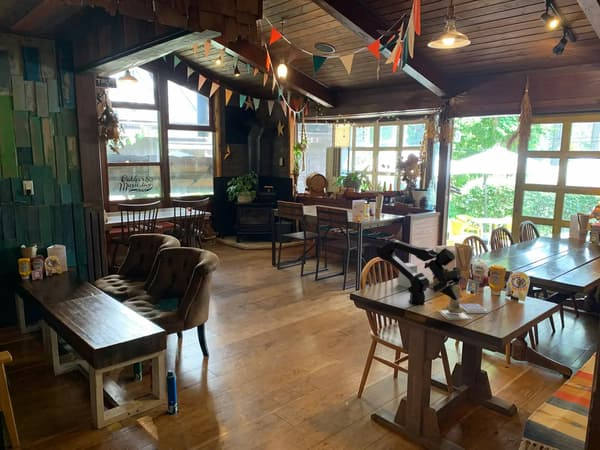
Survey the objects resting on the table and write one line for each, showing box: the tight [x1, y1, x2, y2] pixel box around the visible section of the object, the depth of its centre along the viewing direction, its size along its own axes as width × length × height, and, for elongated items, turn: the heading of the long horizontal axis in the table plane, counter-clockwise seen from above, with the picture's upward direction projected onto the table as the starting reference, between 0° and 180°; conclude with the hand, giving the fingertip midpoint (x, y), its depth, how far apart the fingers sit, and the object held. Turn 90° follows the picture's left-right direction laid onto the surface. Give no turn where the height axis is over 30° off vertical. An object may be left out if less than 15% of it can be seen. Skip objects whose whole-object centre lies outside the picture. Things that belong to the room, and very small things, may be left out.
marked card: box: [437, 309, 473, 320], centre depth 208 cm, size 12×12×1 cm
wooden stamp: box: [446, 284, 464, 313], centre depth 207 cm, size 6×6×13 cm
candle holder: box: [428, 250, 441, 290], centre depth 249 cm, size 9×9×20 cm
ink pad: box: [460, 303, 488, 314], centre depth 216 cm, size 10×10×2 cm
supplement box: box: [397, 262, 418, 289], centre depth 251 cm, size 7×7×13 cm
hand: (458, 298), depth 206 cm, fingers closed on wooden stamp, 4 cm apart
